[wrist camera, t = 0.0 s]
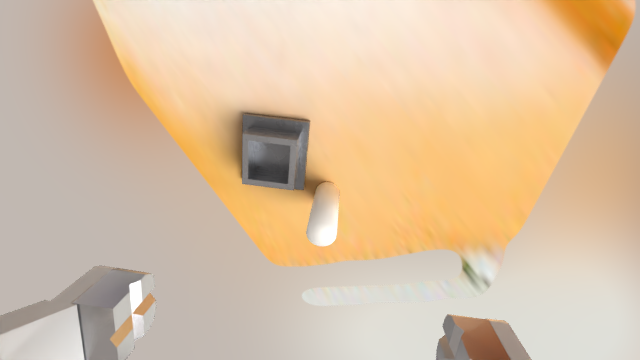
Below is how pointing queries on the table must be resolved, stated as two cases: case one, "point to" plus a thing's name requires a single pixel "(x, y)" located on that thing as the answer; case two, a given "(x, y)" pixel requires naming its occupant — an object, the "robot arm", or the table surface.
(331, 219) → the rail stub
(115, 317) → the robot arm
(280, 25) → the table surface
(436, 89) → the table surface
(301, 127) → the cup bracket
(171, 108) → the table surface
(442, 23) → the table surface
